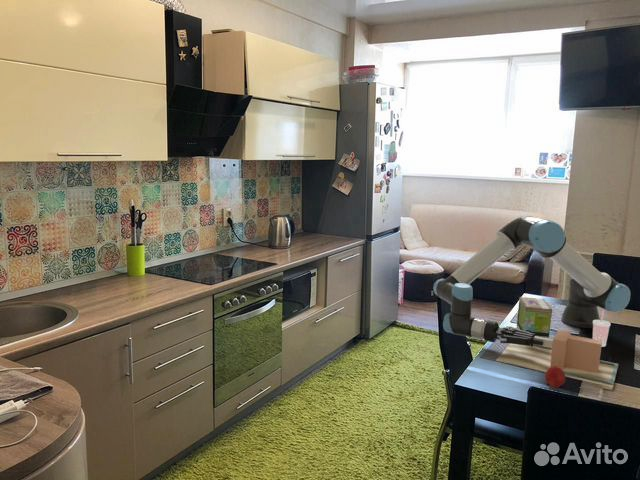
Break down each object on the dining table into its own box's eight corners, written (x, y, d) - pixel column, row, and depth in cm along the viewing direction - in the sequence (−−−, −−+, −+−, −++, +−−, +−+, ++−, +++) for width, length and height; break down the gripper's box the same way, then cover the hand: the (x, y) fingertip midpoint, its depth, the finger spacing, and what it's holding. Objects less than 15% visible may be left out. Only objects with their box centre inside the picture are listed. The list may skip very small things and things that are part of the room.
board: (511, 344, 204) (511, 340, 204) (618, 366, 185) (618, 362, 184) (495, 363, 186) (496, 358, 185) (612, 390, 167) (612, 385, 166)
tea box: (549, 346, 203) (553, 308, 200) (521, 343, 205) (524, 306, 202) (541, 332, 217) (544, 297, 215) (515, 330, 219) (518, 295, 217)
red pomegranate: (540, 384, 170) (542, 360, 168) (557, 384, 170) (560, 360, 169) (549, 392, 164) (552, 368, 163) (567, 392, 164) (570, 368, 163)
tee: (556, 355, 191) (558, 329, 189) (599, 365, 183) (603, 337, 182) (550, 367, 181) (553, 339, 179) (596, 377, 173) (599, 348, 172)
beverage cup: (607, 348, 201) (611, 313, 199) (589, 345, 204) (593, 310, 202) (608, 343, 206) (612, 309, 204) (591, 340, 210) (595, 306, 207)
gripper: (489, 334, 203) (556, 348, 190) (479, 345, 192) (549, 360, 179) (491, 316, 201) (558, 328, 189) (481, 325, 191) (551, 339, 178)
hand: (553, 344), depth 184 cm, fingers closed
